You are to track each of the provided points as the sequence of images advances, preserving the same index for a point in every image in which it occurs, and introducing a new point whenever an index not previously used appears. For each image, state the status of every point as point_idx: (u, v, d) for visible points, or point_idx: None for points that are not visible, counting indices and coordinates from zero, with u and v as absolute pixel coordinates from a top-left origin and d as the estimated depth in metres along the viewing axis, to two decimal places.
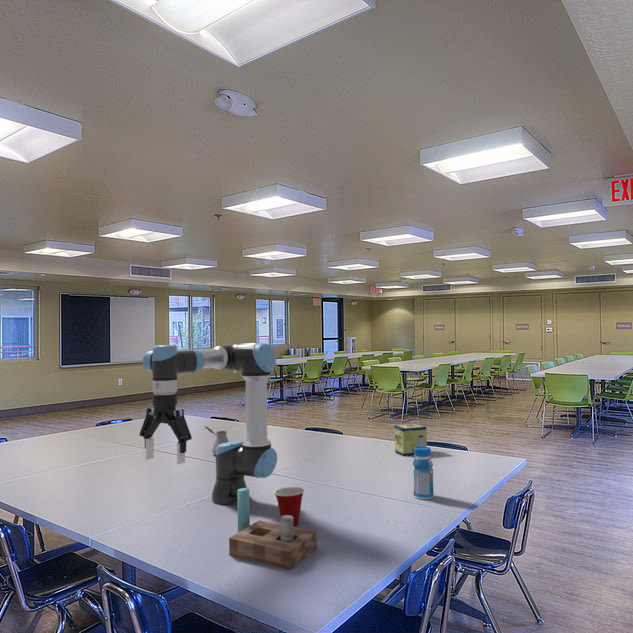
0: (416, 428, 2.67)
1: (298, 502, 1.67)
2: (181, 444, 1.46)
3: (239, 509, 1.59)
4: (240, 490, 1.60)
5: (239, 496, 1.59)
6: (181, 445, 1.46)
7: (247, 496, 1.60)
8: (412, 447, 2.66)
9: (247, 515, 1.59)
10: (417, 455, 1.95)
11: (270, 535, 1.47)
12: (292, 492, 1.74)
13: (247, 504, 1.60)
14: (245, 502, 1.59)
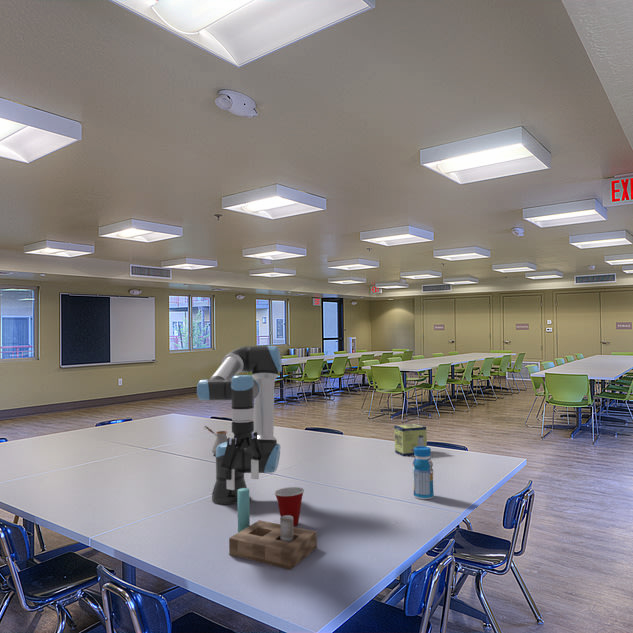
0: (416, 428, 2.67)
1: (298, 502, 1.67)
2: None
3: (239, 509, 1.59)
4: (240, 490, 1.60)
5: (239, 496, 1.59)
6: None
7: (247, 496, 1.60)
8: (412, 447, 2.66)
9: (247, 515, 1.59)
10: (417, 455, 1.95)
11: (270, 535, 1.47)
12: (292, 492, 1.74)
13: (247, 504, 1.60)
14: (245, 502, 1.59)
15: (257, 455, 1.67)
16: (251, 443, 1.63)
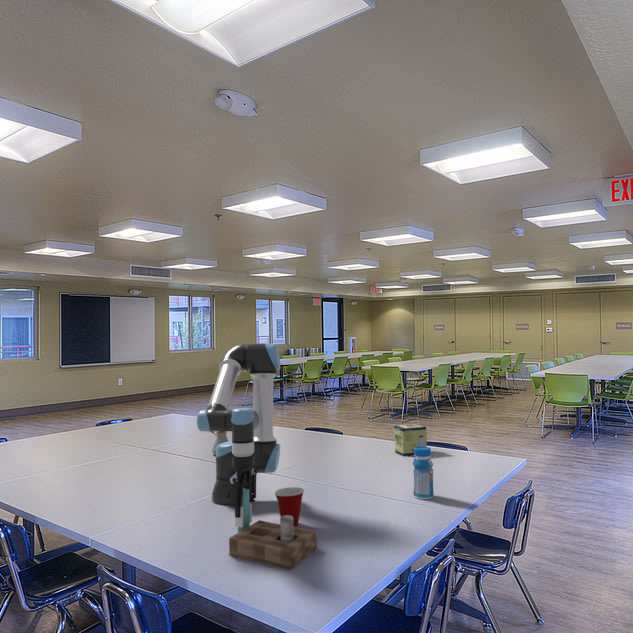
0: (416, 428, 2.67)
1: (298, 501, 1.67)
2: None
3: None
4: None
5: None
6: None
7: (247, 496, 1.60)
8: (412, 447, 2.66)
9: (247, 515, 1.59)
10: (417, 455, 1.95)
11: (270, 535, 1.47)
12: (292, 492, 1.74)
13: (247, 504, 1.60)
14: (245, 502, 1.59)
15: (251, 496, 1.63)
16: (250, 478, 1.62)
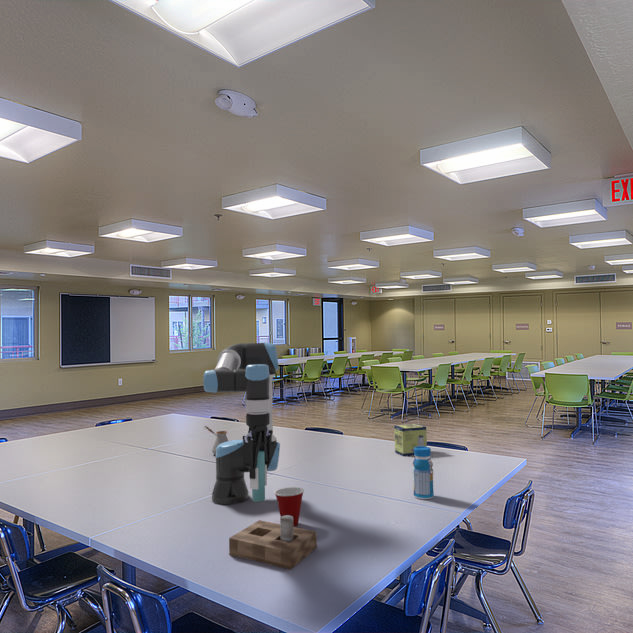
0: (416, 428, 2.67)
1: (298, 502, 1.67)
2: None
3: None
4: None
5: None
6: None
7: (262, 458, 1.50)
8: (412, 447, 2.66)
9: (262, 478, 1.50)
10: (417, 455, 1.95)
11: (270, 535, 1.47)
12: (292, 492, 1.74)
13: (262, 467, 1.50)
14: (260, 464, 1.50)
15: (266, 458, 1.53)
16: (265, 438, 1.52)
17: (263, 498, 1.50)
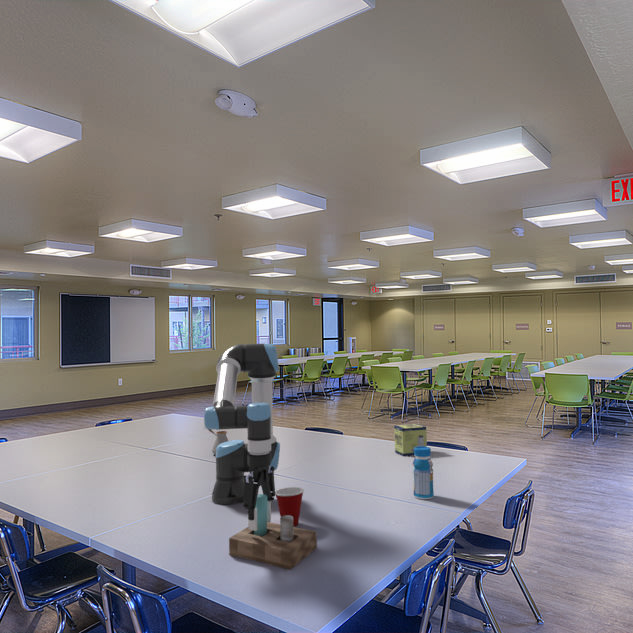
0: (416, 428, 2.67)
1: (298, 501, 1.67)
2: None
3: None
4: (257, 496, 1.50)
5: (256, 503, 1.49)
6: None
7: (265, 503, 1.49)
8: (412, 447, 2.66)
9: (264, 523, 1.49)
10: (417, 455, 1.95)
11: (270, 535, 1.47)
12: (292, 492, 1.74)
13: (265, 512, 1.49)
14: (263, 509, 1.49)
15: (270, 494, 1.54)
16: (267, 477, 1.52)
17: None
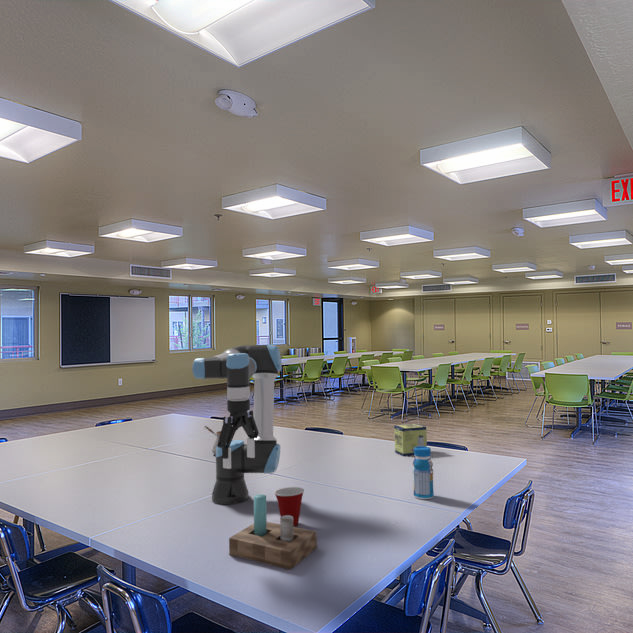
0: (416, 428, 2.67)
1: (298, 501, 1.67)
2: None
3: (255, 517, 1.49)
4: (256, 497, 1.50)
5: (255, 503, 1.49)
6: None
7: (264, 503, 1.49)
8: (412, 447, 2.66)
9: (264, 524, 1.49)
10: (417, 455, 1.95)
11: (270, 535, 1.47)
12: (292, 492, 1.74)
13: (264, 512, 1.49)
14: (262, 509, 1.49)
15: (253, 434, 1.65)
16: (247, 422, 1.61)
17: None
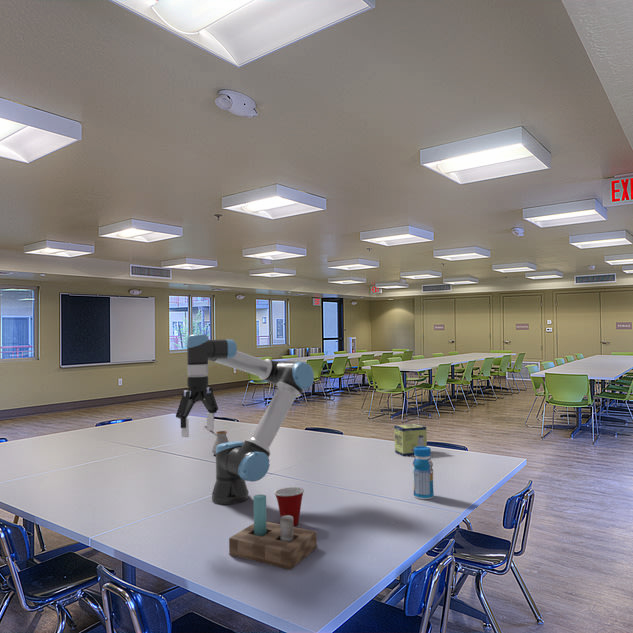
0: (416, 428, 2.67)
1: (298, 502, 1.67)
2: None
3: (255, 517, 1.49)
4: (256, 497, 1.50)
5: (255, 503, 1.49)
6: None
7: (264, 503, 1.49)
8: (412, 447, 2.66)
9: (264, 524, 1.49)
10: (417, 455, 1.95)
11: (270, 535, 1.47)
12: (292, 492, 1.74)
13: (264, 512, 1.49)
14: (262, 509, 1.49)
15: (212, 408, 1.81)
16: (206, 397, 1.77)
17: None
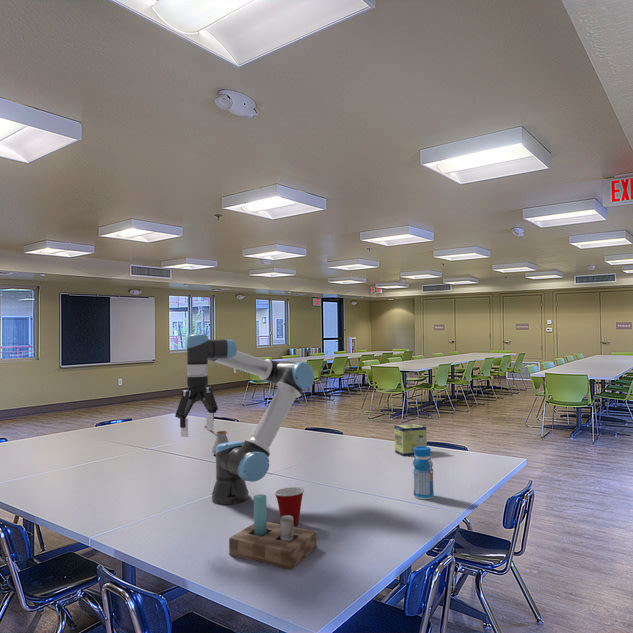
0: (416, 428, 2.67)
1: (298, 502, 1.67)
2: None
3: (256, 517, 1.49)
4: (257, 497, 1.50)
5: (256, 503, 1.49)
6: None
7: (264, 503, 1.49)
8: (412, 447, 2.66)
9: (264, 524, 1.49)
10: (417, 455, 1.95)
11: (270, 535, 1.47)
12: (292, 492, 1.74)
13: (264, 512, 1.49)
14: (262, 509, 1.49)
15: (212, 408, 1.81)
16: (205, 396, 1.78)
17: None
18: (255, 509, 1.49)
